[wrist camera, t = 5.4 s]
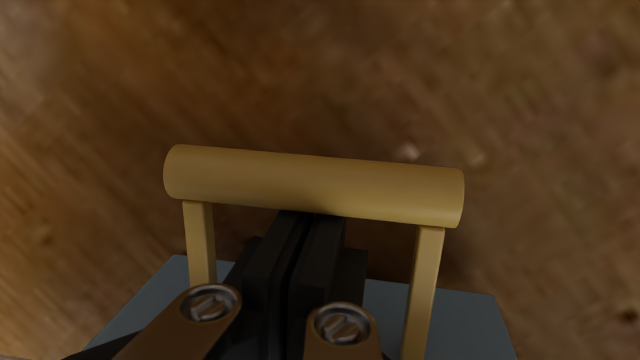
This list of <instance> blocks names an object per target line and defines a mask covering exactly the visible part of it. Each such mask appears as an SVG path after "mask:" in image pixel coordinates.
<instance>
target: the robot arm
mask: <svg viewBox="0 0 640 360" xmlns="http://www.w3.org/2000/svg"><path fill="white" fill-rule="evenodd" d="M345 226H346V217H345V216H336V215H326V214H317V213H316V216H315V213H308V212H298V211H289V210H280V211H279V213H278V215H277V216H276V218H275V220H274V221H273V223H272V225H271V226H270V228H269V230H268V231H267V233H266V235H265V236H264V237H259V236H253V237H252V238H251V240H250V241H249V243H248V244H247V246H246V247H245V249H244V250H243V252H242V253H241V255H240V256H239V258H238V259H237V261H236V262H235V264H234V265H233V267H232V269H231V270H230V272H229V273H228V275H227V276H226V278H225V279H224V281H223V282H222V283H204V284H200V285H196V286H194V287H191V288H189V289H187V290H185V291H184V292H182V293H181V294H180V295H178V296H177V297H176V298H175V299H174V300H173V301H172V302H171V303H170V304H169V305H168V306H167V307H166V308H165V309H164V310H163V311H162V312H161V313H160V314H158V315H157V316H156V317H155V318H154V319H153V320H152V321H151V322H150V323H149V324H148V325H147V326H146V327H145V328H144V329H142V330H139V331H137V332H134V333H131V334H128V335H126V336H123V337H120V338H117V339H114V340H112V341H109V342H106V343H103V344H101V345H98V346H95V347H92V348H90V349H87V350H84V351H81V352H79V353H76V354H73V355H70V356H68V357H66V358H64V359H61V360H391V359H390V358H389V357H388V356H387V355H386V354H385V353H383V352H382V350H381V344H380V337H379V331H378V326H377V323H376V320H375V318H374V317H373V316H372V315H371V314H370V312H369V311H367V310H366V309H364V308H363V307H362V305H363V296H364V287H365V277H366V268H367V259H368V251H367V250H359V249H351V248H344V239H345ZM0 360H30V359H24V358H19V357H13V356H7V355H2V354H0Z"/></svg>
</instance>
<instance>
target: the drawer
mask: <svg viewBox="0 0 640 360" xmlns="http://www.w3.org/2000/svg"><path fill="white" fill-rule="evenodd" d="M163 181H164V186H165V189H166V191H167V193H168V194H169V195H170V196H171V197H173V198H178V199H185V200H184V201H183V203H182V206H183V216H184V226H185V236H186V247H187V256H185V255H177V254H174V255H172V256H171V257H170V258H169V259H168V260H167V261H166V263H165V264H164V265H163V266H162V267H161V268H160V269H159V270H158V271H157V272H156V273H155V274H154V275H153V276H152V277H151V278H150V279H149V280H148V282H147V283H146V284H145V285H144V286H143V287H142V288H141V289H140V290H139V291H138V292H137V293H136V294H135V295H134V296H133V297H132V298H131V300H130V301H129V302H128V303H127V304H126V305H125V306H124V307H123V308H122V309H121V310H120V311H119V312H118V313H117V314H116V315H115V316H114V317H113V319H112V320H111V321H110V322H109V323H108V324H107V325H106V326H105V327H104V328H103V329H102V330H101V331H100V332H99V333H98V334H97V335H96V337H95V338H94V339H93V340H92V341H91V342H90V343H89V344H88V345H87V346H86V347H85V348H84V349H83V350H82V351H84V350H87V349H90V348H92V347H95V346H98V345H101V344H103V343H106V342H109V341H112V340H114V339H117V338H120V337H123V336H126V335H128V334H131V333H134V332H137V331H139V330H142V329H144V328H145V327H146V326H147V325H148V324H149V323H150V322H151V321H152V320H153V319H154V318H155V317H156V316H157V315H158V314H160V313H161V312H162V311H163V310H164V309H165V308H166V307H167V306H168V305H169V304H170V303H171V302H172V301H173V300H174V299H175V298H176V297H177V296H178V295H180V294H181V293H182V292H184V291H185V290H187V289H189V288H191V287H194V286H196V285H200V284H204V283H222V282H223V281H224V279H225V278H226V276H227V275H228V273H229V272H230V270H231V269H232V267H233V265H234V264H235V262H231V261H223V260H216V253H215V239H214V224H213V209H212V202H215V203H224V204H233V205H243V206H252V207H261V208H271V209H280V210H289V211H298V212H308V213H317V214H326V215H336V216H345V217H354V218H364V219H373V220H382V221H392V222H401V223H410V224H418V225H417V232H416V239H415V247H414V254H413V261H412V268H411V275H410V282H409V284H403V283H395V282H387V281H379V280H371V279H365V287H364V296H363V305H362V307H363V308H364V309H366V310H367V311H369V312H370V314H371V315H372V316H373V317H374V318H375V320H376V323H377V326H378V331H379V337H380V344H381V350H382V352H383V353H385V354H386V355H387V356H388V357H389V358H390V359H391V360H518V359H517V356H516V353H515V350H514V348H513V345H512V342H511V340H510V337H509V334H508V331H507V329H506V326H505V323H504V321H503V318H502V315H501V312H500V310H499V307H498V304H497V302H496V299H495V296H493V295H488V294H481V293H473V292H465V291H457V290H449V289H442V288H436V283H437V277H438V271H439V265H440V260H441V254H442V248H443V242H444V236H445V228H444V227H447V228H456V227H457V225H458V223H459V221H460V218H461V214H462V209H463V202H464V176H463V172H462V170H461V169H459V168H450V167H439V166H427V165H416V164H404V163H393V162H381V161H370V160H358V159H347V158H336V157H324V156H313V155H301V154H290V153H278V152H267V151H255V150H244V149H232V148H221V147H209V146H198V145H186V144H177V145H175V146H173V147H172V148H171V149H170V151H169V152H168V154H167V157H166V159H165V163H164V169H163Z"/></svg>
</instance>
